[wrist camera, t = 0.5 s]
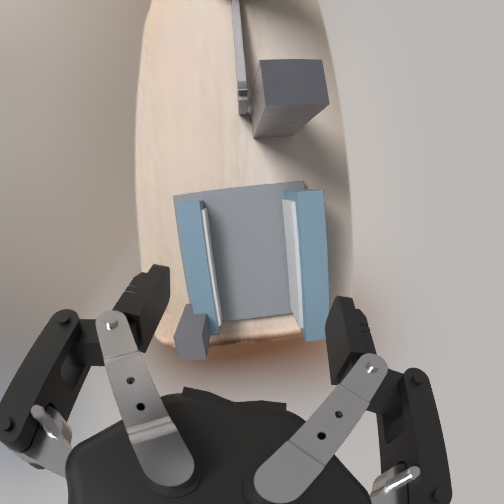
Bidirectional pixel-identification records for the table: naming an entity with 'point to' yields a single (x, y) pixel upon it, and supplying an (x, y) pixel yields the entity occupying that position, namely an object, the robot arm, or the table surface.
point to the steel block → (287, 96)
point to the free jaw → (197, 284)
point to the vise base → (268, 252)
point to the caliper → (239, 59)
